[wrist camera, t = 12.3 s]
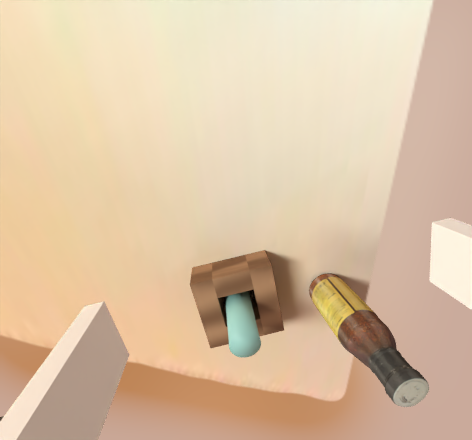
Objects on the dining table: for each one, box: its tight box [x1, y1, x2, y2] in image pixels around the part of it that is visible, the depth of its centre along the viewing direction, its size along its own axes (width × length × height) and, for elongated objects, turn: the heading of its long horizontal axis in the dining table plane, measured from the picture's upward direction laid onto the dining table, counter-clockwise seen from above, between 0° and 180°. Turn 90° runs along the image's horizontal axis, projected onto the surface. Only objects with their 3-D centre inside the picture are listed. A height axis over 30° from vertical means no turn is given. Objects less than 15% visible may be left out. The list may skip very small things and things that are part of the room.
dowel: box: [225, 291, 261, 357], centre depth 38 cm, size 4×4×12 cm
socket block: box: [190, 250, 284, 348], centre depth 41 cm, size 12×12×5 cm
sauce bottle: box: [309, 274, 429, 407], centre depth 36 cm, size 6×6×20 cm
